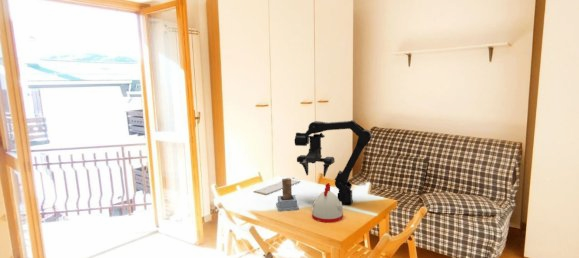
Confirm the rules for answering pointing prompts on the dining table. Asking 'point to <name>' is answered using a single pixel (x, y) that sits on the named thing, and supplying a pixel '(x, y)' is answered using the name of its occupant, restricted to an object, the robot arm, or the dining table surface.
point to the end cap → (287, 204)
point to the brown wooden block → (287, 189)
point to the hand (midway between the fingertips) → (315, 176)
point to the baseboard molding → (274, 187)
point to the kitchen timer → (327, 207)
